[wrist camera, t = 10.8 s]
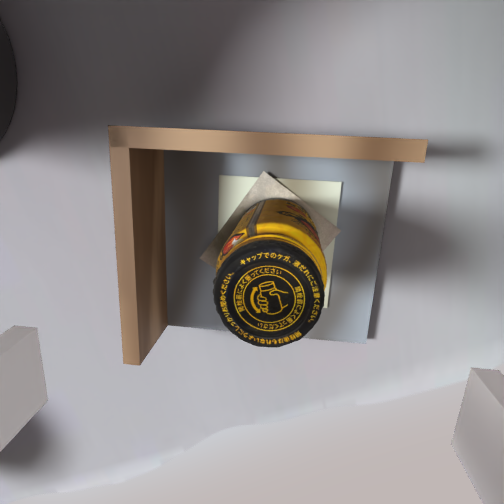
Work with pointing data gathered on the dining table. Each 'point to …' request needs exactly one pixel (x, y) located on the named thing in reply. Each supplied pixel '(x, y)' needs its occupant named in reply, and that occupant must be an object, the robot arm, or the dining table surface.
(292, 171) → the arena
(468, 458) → the robot arm
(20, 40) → the dining table surface
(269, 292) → the condiment
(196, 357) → the dining table surface
